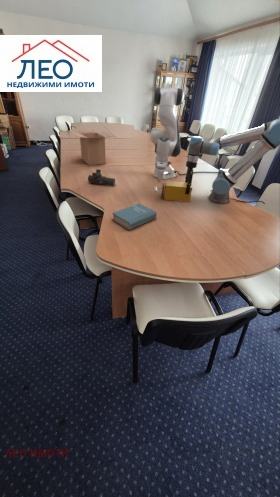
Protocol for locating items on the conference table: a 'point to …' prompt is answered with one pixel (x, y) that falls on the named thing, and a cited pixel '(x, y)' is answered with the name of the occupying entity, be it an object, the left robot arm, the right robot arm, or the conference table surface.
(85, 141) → the box
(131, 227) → the book
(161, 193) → the drawer
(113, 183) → the laser sight
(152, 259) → the conference table surface
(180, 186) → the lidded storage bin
